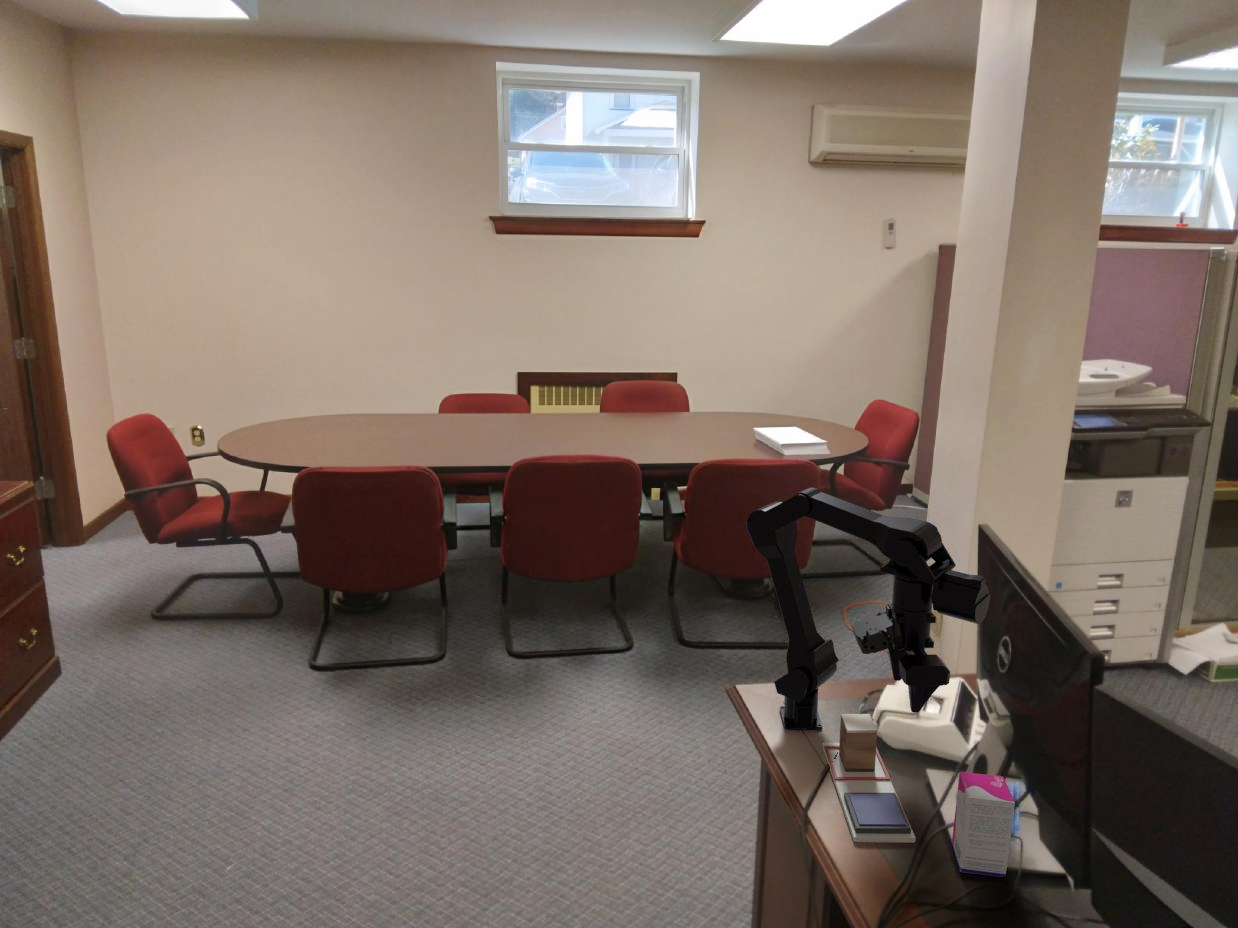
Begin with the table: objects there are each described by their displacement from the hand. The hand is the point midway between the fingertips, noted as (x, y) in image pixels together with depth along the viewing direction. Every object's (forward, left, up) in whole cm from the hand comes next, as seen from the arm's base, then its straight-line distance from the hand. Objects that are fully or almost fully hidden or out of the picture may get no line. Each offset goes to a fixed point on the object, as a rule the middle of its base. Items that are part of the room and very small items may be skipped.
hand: (905, 695), depth 123 cm
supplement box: (+21, +4, -12) cm, 25 cm away
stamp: (+1, -7, -11) cm, 14 cm away
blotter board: (+7, -8, -12) cm, 16 cm away
